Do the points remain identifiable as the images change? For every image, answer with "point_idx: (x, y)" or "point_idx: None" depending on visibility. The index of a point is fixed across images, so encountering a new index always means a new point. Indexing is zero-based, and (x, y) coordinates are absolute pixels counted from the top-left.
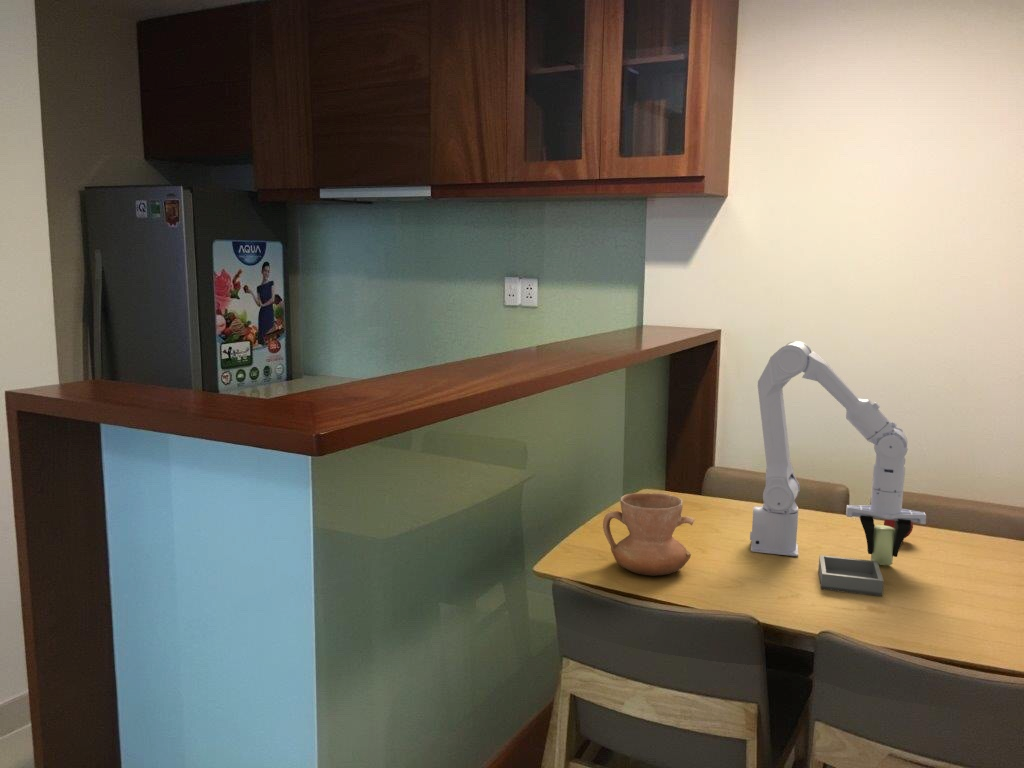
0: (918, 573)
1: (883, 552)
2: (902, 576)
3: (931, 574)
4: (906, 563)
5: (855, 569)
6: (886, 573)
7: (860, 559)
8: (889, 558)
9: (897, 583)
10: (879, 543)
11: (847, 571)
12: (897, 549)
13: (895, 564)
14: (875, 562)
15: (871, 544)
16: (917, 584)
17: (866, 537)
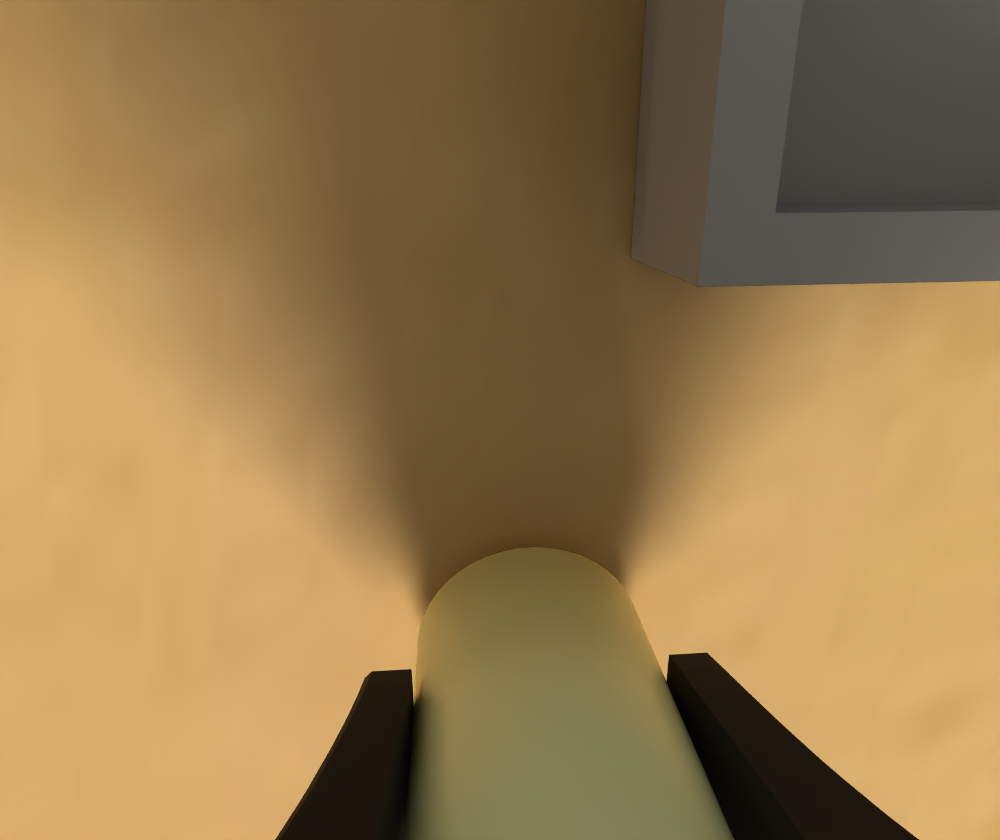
0: (148, 518)
1: (555, 647)
2: (323, 357)
3: (8, 538)
4: (273, 746)
5: (923, 204)
6: (497, 393)
7: (948, 280)
8: (461, 619)
9: (395, 63)
10: (653, 762)
11: (996, 187)
12: (355, 739)
13: None
14: (741, 205)
15: (754, 742)
16: (141, 119)
17: (914, 836)
